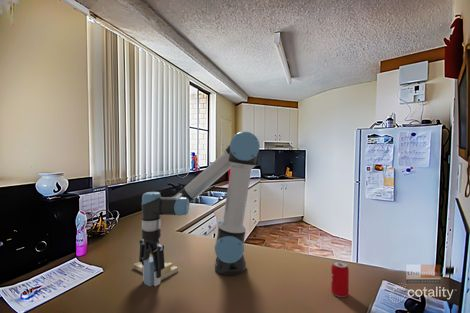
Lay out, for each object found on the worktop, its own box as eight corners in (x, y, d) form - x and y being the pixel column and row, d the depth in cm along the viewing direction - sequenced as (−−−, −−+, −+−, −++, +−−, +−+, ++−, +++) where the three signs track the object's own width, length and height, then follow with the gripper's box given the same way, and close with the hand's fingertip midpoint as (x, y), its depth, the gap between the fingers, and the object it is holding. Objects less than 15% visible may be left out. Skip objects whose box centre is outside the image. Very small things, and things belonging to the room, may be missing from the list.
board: (177, 271, 114) (177, 267, 114) (160, 280, 106) (160, 276, 106) (151, 260, 126) (151, 256, 126) (133, 268, 118) (133, 264, 118)
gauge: (174, 273, 113) (173, 252, 112) (149, 286, 102) (149, 262, 102) (168, 271, 115) (168, 250, 115) (144, 283, 104) (143, 260, 104)
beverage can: (343, 289, 100) (344, 260, 99) (351, 298, 94) (351, 267, 93) (328, 289, 100) (328, 260, 99) (335, 298, 93) (335, 267, 93)
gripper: (173, 230, 102) (174, 285, 102) (144, 222, 113) (145, 271, 114) (159, 235, 96) (159, 293, 96) (129, 226, 107) (130, 278, 108)
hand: (151, 281), depth 105 cm, fingers open, 7 cm apart
